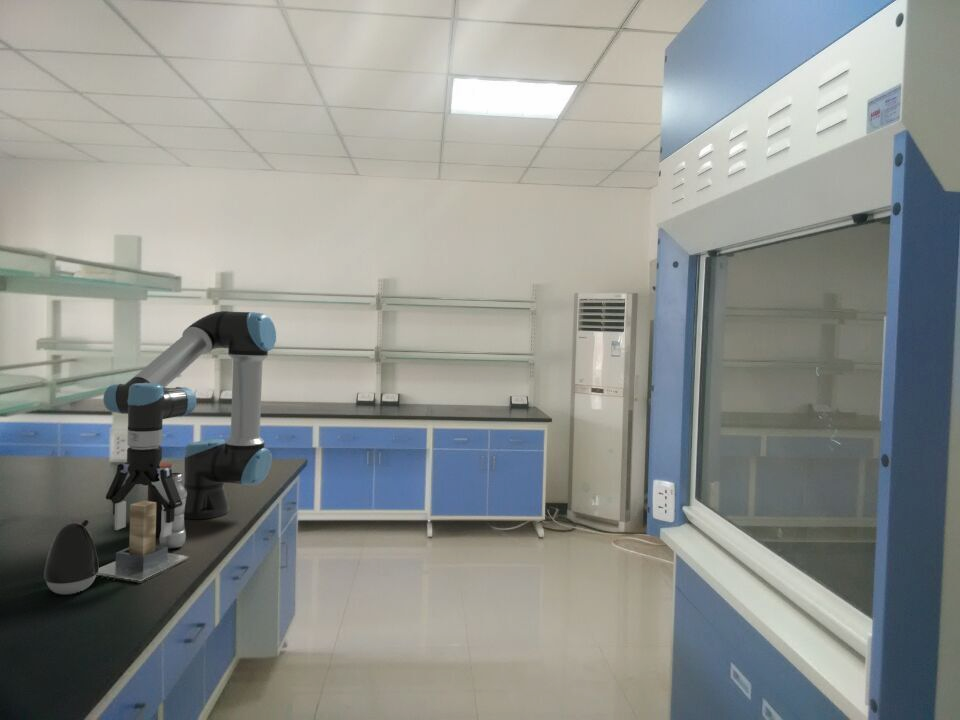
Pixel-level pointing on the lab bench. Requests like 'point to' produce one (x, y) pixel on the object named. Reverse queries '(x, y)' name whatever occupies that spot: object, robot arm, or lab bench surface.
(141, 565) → the grey socket base
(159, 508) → the vinegar
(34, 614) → the lab bench surface
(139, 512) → the beech rail
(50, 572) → the dark grey egg shape
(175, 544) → the plastic bottle
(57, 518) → the lab bench surface
